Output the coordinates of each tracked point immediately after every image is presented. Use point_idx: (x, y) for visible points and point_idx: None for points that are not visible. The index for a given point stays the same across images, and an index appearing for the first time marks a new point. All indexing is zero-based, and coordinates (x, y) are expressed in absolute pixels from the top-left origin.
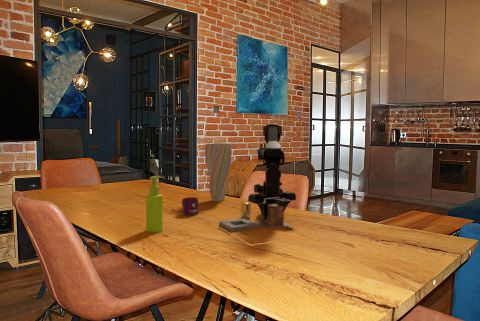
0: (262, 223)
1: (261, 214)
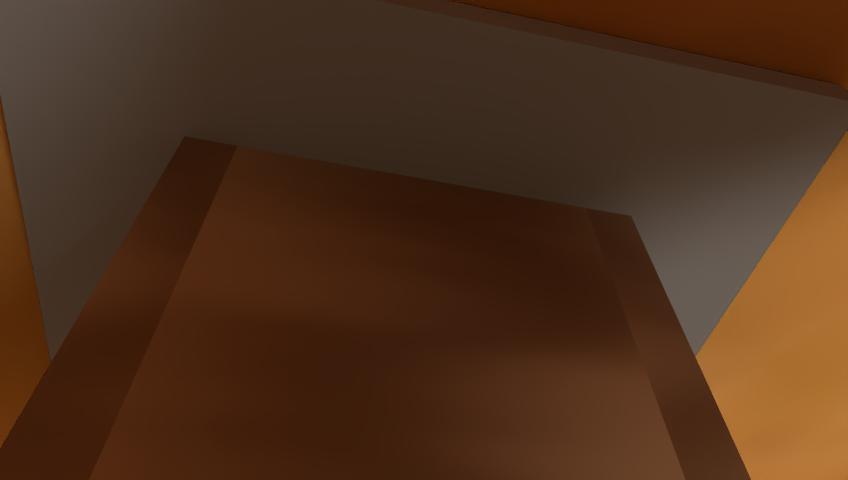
0: None
1: (85, 333)
